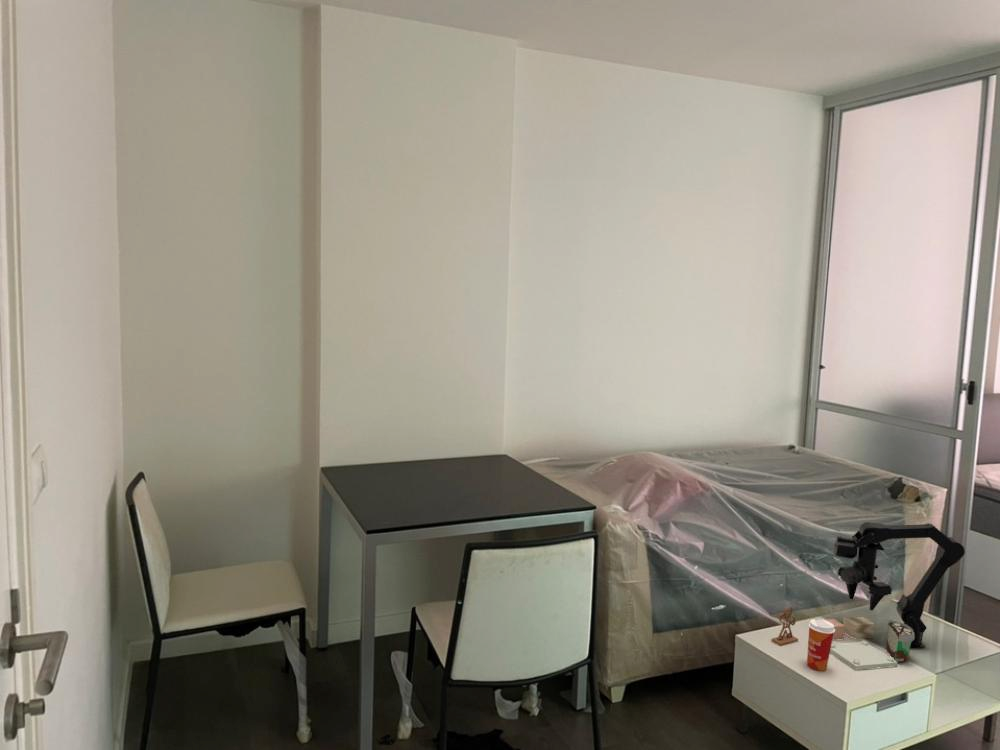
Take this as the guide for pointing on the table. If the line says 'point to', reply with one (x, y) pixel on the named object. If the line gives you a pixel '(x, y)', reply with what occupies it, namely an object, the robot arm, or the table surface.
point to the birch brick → (858, 627)
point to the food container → (899, 640)
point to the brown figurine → (788, 637)
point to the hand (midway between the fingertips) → (861, 604)
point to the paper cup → (819, 644)
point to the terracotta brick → (837, 629)
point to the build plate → (861, 655)
